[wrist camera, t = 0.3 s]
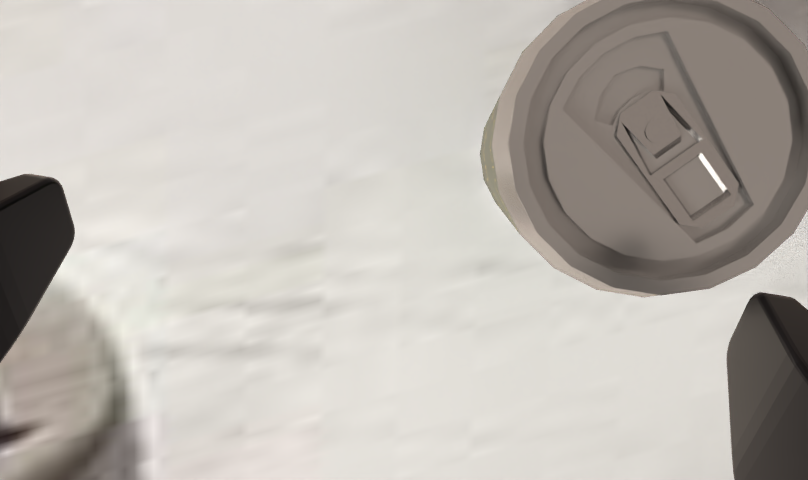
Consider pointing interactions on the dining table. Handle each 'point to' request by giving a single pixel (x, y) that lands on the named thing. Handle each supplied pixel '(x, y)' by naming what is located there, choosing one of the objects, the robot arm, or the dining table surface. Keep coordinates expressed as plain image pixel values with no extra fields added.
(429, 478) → the dining table surface
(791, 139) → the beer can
